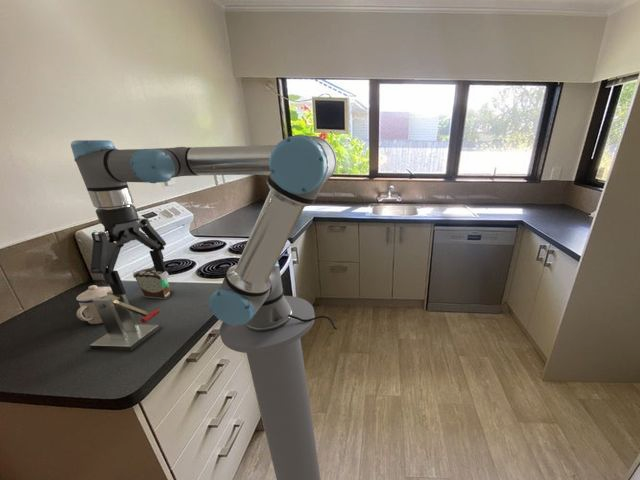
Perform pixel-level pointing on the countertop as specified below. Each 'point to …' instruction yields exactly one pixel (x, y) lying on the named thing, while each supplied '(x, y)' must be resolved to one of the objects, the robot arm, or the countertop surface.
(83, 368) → the countertop surface
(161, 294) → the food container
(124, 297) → the bracket
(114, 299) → the lever
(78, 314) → the teacup with lid
